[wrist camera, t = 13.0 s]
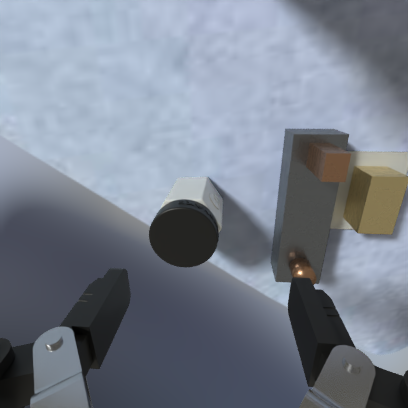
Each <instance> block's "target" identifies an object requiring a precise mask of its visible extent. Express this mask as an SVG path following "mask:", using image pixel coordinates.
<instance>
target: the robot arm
mask: <svg viewBox="0 0 408 408" xmlns="http://www.w3.org/2000/svg"><path fill="white" fill-rule="evenodd" d="M129 303H130V287H129V280H128V273H127V270H126V269H119V268H110V269H109V270H108V272H107V273H106V275H105V276H104V278H98V279H97V280H95V281H94V282H93V283H91V284H90V285H89V286H88V288H87V289H86V290H85V292H84V293H83V295H82V296H81V297H80V298H79V301H78V302H77V303H76V304H75V305H74V307H73V308H72V310H71V311H70V312H69V314H68V315H67V317H66V318H65V319H64V321H63V322H62V324H61V325H60V326H59V327H57V328H53V329H51V330H49V331H47V332H45V333H44V334H42V335H41V336H40V337H39V338H38V339H37V341H36V342H35V343H30V344H26V345H21V346H16V347H12V346H11V343H10V341H9V340H7V339H3V338H0V408H24V407H25V406H26V405H30V407H31V408H93V407H92V403H91V398H90V393H89V389H88V385H87V380H86V375H87V373H88V371H89V369H90V368H93V369H100V367H101V364H102V362H103V360H104V358H105V356H106V354H107V352H108V349H109V347H110V345H111V343H112V341H113V338H114V336H115V334H116V332H117V330H118V328H119V326H120V323H121V321H122V319H123V317H124V315H125V312H126V311H127V308H128V306H129ZM288 313H289V318H290V321H291V325H292V329H293V333H294V336H295V340H296V344H297V347H298V351H299V354H300V358H301V361H302V366H303V369H304V373H305V377H306V380H307V384H308V386H309V387H313V389H312V390H309V391H308V392H307V394H306V396H305V398H304V399H303V401H302V403H301V405H300V407H299V408H408V371H406V373H405V374H404V376H401V375H398V374H396V373H392V372H390V371H387V370H384V369H381V368H379V367H377V366H374V365H373V363H372V361H371V360H370V359H369V358H368V357H367V356H366V355H365V354H364V353H363V352H361V351H360V350H358V349H356V348H355V346H354V344H353V342H352V340H351V338H350V336H349V334H348V332H347V330H346V328H345V326H344V324H343V322H342V320H341V318H340V317H339V314H338V312H337V310H336V308H335V306H334V304H333V302H332V299H331V298H330V297H329V296H328V295H327V294H326V293H325V292H324V291H323V290H316V289H315V288H314V286H313V284H312V281H311V279H310V278H301V277H293V278H292V281H291V287H290V294H289V300H288Z"/></svg>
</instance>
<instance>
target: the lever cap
mask: <svg viewBox="0 0 408 408" xmlns="http://www.w3.org/2000/svg"><path fill="white" fill-rule="evenodd" d="M407 185H408V176H407V175H404V174H402V173H400V172H398V171H396V170H394V169H392V168H389V167H387V166H354V170H353V174H352V179H351V183H350V188H349V192H348V197H347V201H346V206H345V210H344V215H343V218H344V219H345V220H346V221H347V222H348V223H349V224H350V225H351V227H352V228H353V229H354V230H355V231H356V232H357V233H364V234H392V233H393V230H394V226H395V223H396V220H397V217H398V213H399V210H400V207H401V204H402V201H403V197H404V194H405V191H406V188H407Z"/></svg>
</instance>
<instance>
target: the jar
mask: <svg viewBox="0 0 408 408" xmlns="http://www.w3.org/2000/svg"><path fill="white" fill-rule="evenodd" d="M222 214H223V199H222V198H221V196H220V195H219V193H218V192H217V190H216V189H215V187H214V186H213V184H212V183H211V181H210V180H209V178H208V177H181V178H177V180H176V182H175V184H174V185H173V187H172V189H171V190H170V192H169V194H168V196H167V197H166V199H165V201H164V203H163V205H162V207H161V209H160V210H159V212H158V213H157V215H156V217H155V218H154V220H153V222H152V224H151V226H150V230H149V239H150V243H151V246H152V248H153V250H154V251H155V253H156V254H157V255H158V256H159V257H160V258H161V259H162V260H164V261H166V262H167V263H169V264H171V265H174V266H179V267H193V266H197V265H200V264H202V263H204V262H205V261H207V260H208V259H209V258H210V257H211V256H212V255H213V253H214V252H215V249H216V247H217V242H218V237H219V232H220V230H221V229H222Z"/></svg>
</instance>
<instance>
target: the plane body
mask: <svg viewBox="0 0 408 408" xmlns="http://www.w3.org/2000/svg"><path fill="white" fill-rule="evenodd" d="M348 137H349V134H346V133H343V132H341V131H338V130H335V129H285V137H284V147H283V156H282V165H281V174H280V183H279V192H278V201H277V210H276V219H275V229H274V238H273V247H272V256H271V265H272V269H273V273H274V277H275V281H276V282H291V281H292V278H293V277H301V278H310V279H311V281H312V284H313V285H314V284H319V280H320V276H321V271H322V266H323V261H324V256H325V251H326V246H327V241H328V236H329V231H330V226H331V221H332V216H333V211H334V206H335V201H336V196H337V192H338V187H339V182H345V181H346V177H347V172H348V167H349V163H350V158H351V153H349V152H347V151H346V147H347V142H348Z"/></svg>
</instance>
